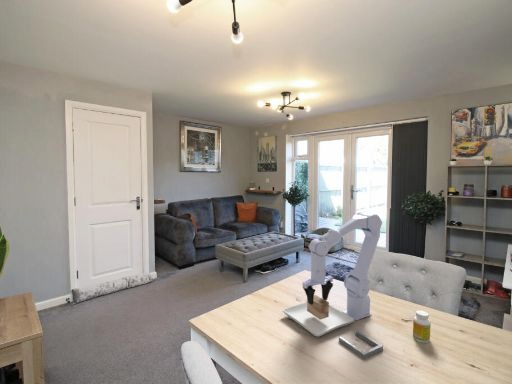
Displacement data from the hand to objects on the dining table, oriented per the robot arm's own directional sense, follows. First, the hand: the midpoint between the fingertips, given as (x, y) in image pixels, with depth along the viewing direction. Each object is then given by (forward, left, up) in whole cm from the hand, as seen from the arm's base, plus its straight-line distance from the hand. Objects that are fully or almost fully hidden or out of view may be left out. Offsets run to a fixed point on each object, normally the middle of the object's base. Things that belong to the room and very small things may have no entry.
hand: (317, 301), depth 113 cm
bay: (-2, +19, -8) cm, 21 cm away
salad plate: (0, 0, -9) cm, 9 cm away
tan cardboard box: (0, 0, -5) cm, 5 cm away
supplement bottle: (-25, +28, -8) cm, 38 cm away
